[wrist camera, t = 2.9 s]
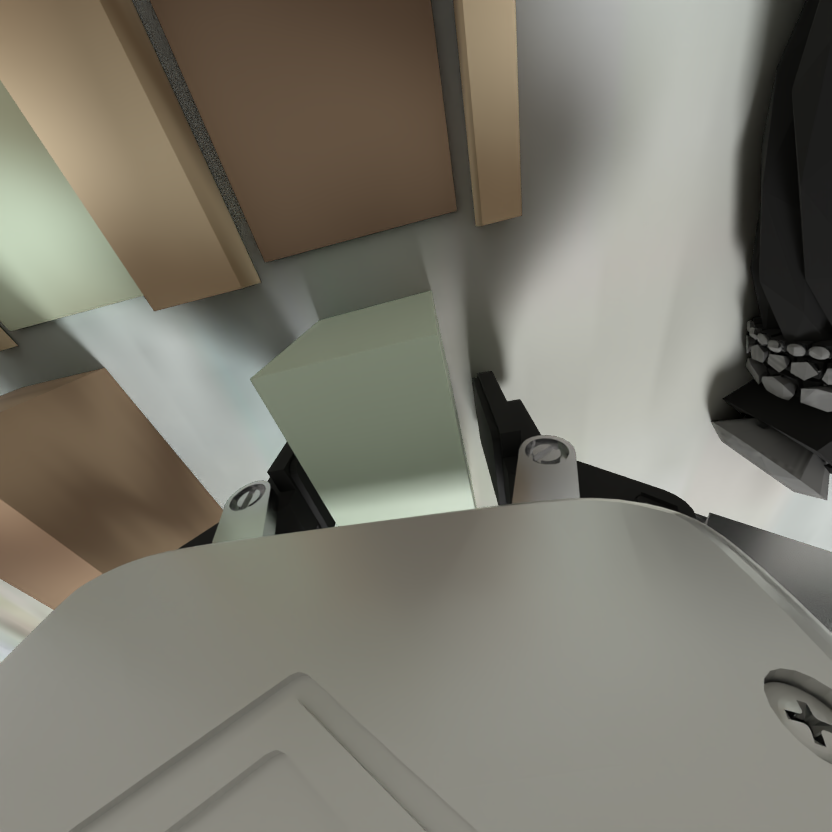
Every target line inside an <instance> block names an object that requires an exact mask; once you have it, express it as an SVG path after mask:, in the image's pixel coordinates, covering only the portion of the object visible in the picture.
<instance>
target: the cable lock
mask: <svg viewBox="0 0 832 832" xmlns="http://www.w3.org/2000/svg"><path fill="white" fill-rule="evenodd" d="M751 272H752V276H753V281H754V286H755V291H756V295H757V300H758V305H759V310H760V314H761V317H758V318H753V321H750V320H749V321H748V322H747V330H748V331H749V332H750V334H749V335H750V336H752V337H750V336H747V335H746V351H747V353H749V352H750V351H751V356H752V358H748V359H747V363H746V367H747V369H748V370H749V372H750V373H751V374H752V376H753V377H754V380H752V381H751V382H749V383H747V384H746V385H744V386H742V387H741V388H739V389H738V390H736V391H734V392H733V393H731V394H729V395H728V396H726V397H725V398H723V399H724V400H725V401H726V402H727V403H729V404H730V405H731V406H732V407H733V408H735V409H736V410H737V411H738V412H740V413H741V414H742V415H746V416H744V418H743V419H733V420H722V421H714V422H712V425H713V427H714V429H715V430H716V432H717V434H718V436H719V438H720V439H721V441H722V442H723V443H725V444H726V445H728V446H729V447H730V448H732V449H733V450H735V451H736V452H738V453H739V454H740V455H742V456H743V457H745V458H746V459H747V460H749V461H750V462H752V463H753V464H755V465H756V466H757V467H759V468H760V469H762V470H763V471H764V472H766V473H767V474H769V475H770V476H772V477H773V478H775V479H776V480H777V481H779V482H780V483H782V484H783V485H785V486H786V487H788V488H789V489H791V490H792V491H793V492H797V493H801V494H805V495H809V496H813V497H816V498H820V499H824V500H827V495H828V484H829V473H830V474H832V0H806V2H805V4H804V7H803V9H802V11H801V14H800V16H799V18H798V21H797V23H796V25H795V28H794V30H793V32H792V34H791V37H790V39H789V41H788V44H787V46H786V48H785V51H784V53H783V55H782V58H781V60H780V62H779V64H778V67H777V71H776V76H775V81H774V86H773V91H772V96H771V101H770V106H769V111H768V116H767V121H766V126H765V131H764V136H763V141H762V179H761V206H760V212H759V219H758V225H757V231H756V237H755V244H754V250H753V256H752V263H751Z"/></svg>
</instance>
